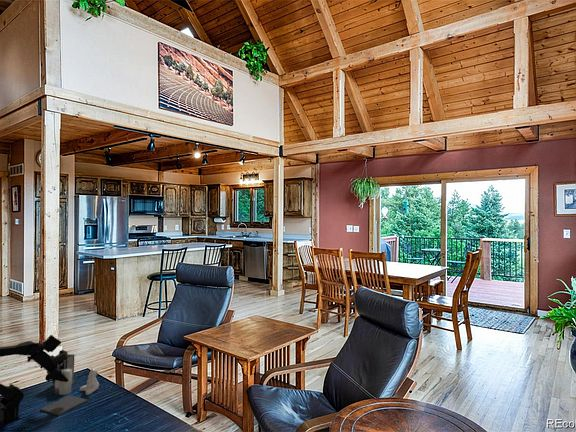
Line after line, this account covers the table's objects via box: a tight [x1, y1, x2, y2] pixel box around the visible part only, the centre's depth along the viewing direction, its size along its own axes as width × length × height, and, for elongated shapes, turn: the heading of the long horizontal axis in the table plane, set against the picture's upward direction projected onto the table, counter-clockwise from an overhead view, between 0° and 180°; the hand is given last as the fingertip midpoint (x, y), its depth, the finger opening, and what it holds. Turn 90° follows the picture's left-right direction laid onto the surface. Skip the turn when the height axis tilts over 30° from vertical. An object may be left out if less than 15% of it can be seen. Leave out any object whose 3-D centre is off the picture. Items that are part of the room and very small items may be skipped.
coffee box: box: [52, 353, 75, 387], centre depth 213 cm, size 9×6×16 cm
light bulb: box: [58, 369, 73, 396], centre depth 187 cm, size 6×6×11 cm
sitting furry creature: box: [79, 368, 100, 396], centre depth 205 cm, size 10×9×12 cm
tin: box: [54, 380, 60, 396], centre depth 202 cm, size 7×7×8 cm
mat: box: [40, 394, 88, 417], centre depth 187 cm, size 16×13×1 cm
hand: (68, 379), depth 188 cm, fingers closed on light bulb, 5 cm apart
